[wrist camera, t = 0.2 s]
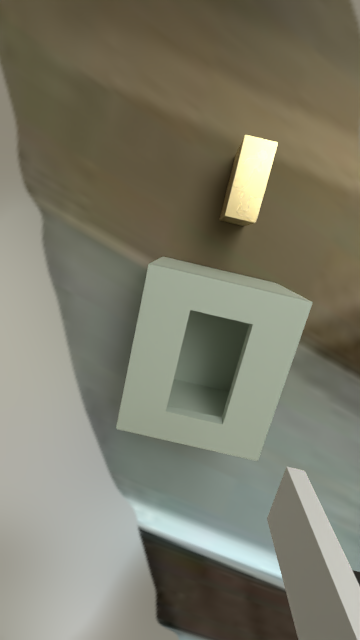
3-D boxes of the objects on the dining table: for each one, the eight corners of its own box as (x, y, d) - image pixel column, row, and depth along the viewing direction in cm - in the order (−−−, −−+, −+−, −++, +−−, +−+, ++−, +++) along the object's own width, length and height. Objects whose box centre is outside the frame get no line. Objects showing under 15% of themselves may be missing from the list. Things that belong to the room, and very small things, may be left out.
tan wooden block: (235, 155, 34) (245, 134, 28) (261, 161, 34) (278, 142, 28) (219, 220, 36) (224, 215, 29) (244, 226, 36) (255, 222, 29)
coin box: (163, 256, 37) (148, 263, 26) (276, 283, 38) (312, 302, 26) (137, 376, 41) (115, 428, 30) (240, 399, 42) (257, 461, 30)
